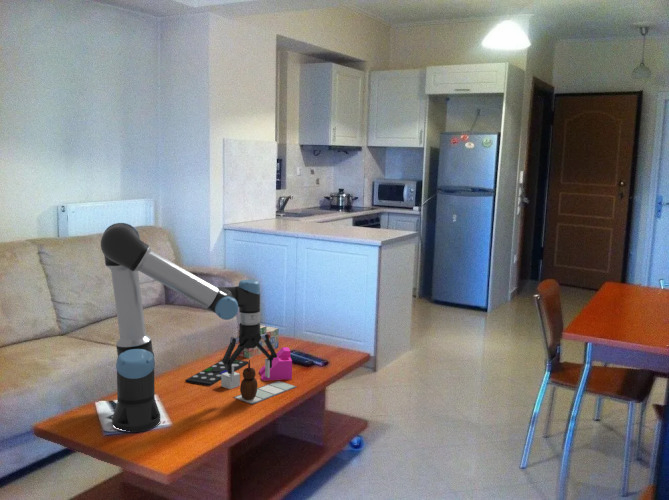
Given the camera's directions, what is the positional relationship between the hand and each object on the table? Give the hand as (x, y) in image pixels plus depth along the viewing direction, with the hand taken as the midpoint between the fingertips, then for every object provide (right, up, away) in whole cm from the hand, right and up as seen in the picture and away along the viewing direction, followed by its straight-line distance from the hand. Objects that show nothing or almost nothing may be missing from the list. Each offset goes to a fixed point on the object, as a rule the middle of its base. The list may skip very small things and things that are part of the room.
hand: (249, 379), depth 229 cm
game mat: (+5, -7, +8) cm, 11 cm away
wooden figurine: (-1, -7, +1) cm, 7 cm away
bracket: (+7, -4, +27) cm, 28 cm away
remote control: (-17, -4, +29) cm, 33 cm away
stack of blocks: (-4, 0, +58) cm, 58 cm away
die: (-9, -5, +13) cm, 17 cm away
